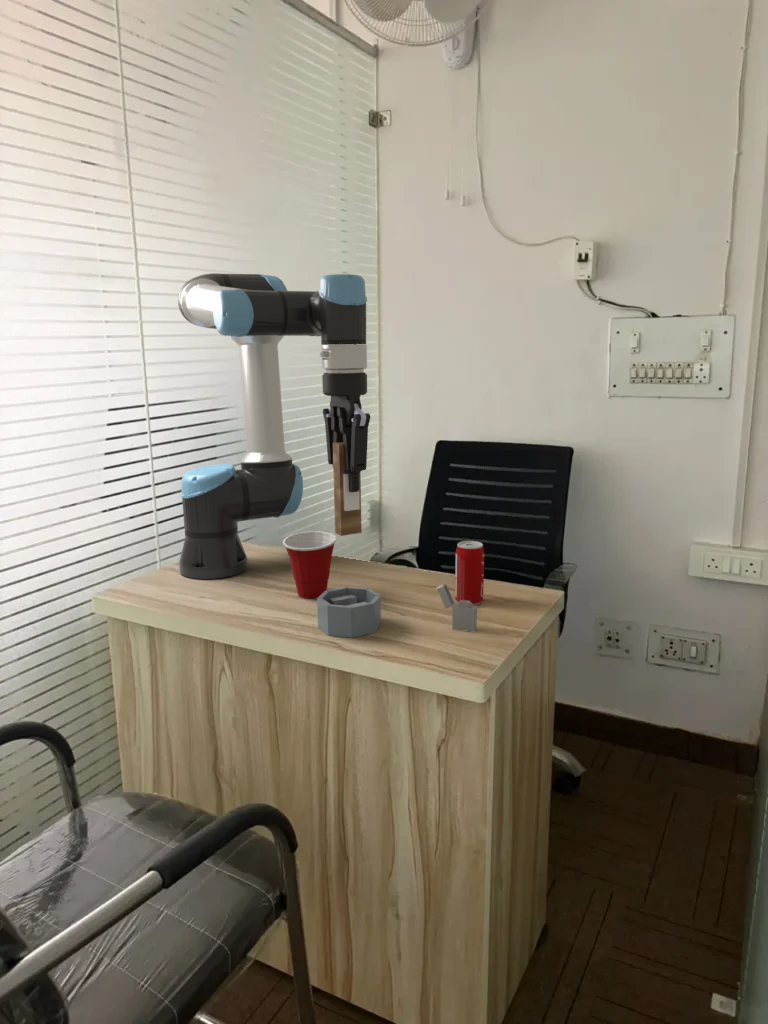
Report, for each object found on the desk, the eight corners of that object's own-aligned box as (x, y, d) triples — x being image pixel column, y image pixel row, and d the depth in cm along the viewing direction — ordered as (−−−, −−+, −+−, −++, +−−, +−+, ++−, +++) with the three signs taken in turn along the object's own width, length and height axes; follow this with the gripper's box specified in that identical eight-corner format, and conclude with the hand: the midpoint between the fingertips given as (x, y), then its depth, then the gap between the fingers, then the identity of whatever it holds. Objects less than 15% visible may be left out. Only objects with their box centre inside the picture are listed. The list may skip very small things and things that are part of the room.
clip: (330, 619, 136) (329, 598, 135) (353, 614, 138) (352, 594, 137) (345, 630, 131) (345, 609, 130) (369, 625, 133) (369, 604, 132)
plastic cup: (274, 598, 149) (271, 540, 146) (304, 582, 158) (302, 528, 156) (319, 607, 144) (317, 547, 141) (347, 590, 153) (346, 534, 151)
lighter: (476, 628, 133) (477, 586, 131) (474, 632, 131) (475, 589, 129) (439, 623, 135) (439, 581, 133) (436, 627, 134) (436, 584, 132)
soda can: (486, 605, 144) (487, 546, 141) (458, 607, 143) (459, 547, 141) (479, 596, 149) (480, 538, 147) (452, 597, 149) (453, 539, 146)
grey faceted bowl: (310, 621, 137) (309, 593, 135) (361, 611, 142) (361, 583, 140) (336, 641, 128) (335, 611, 126) (389, 629, 133) (389, 600, 131)
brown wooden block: (335, 532, 131) (332, 442, 127) (355, 529, 133) (353, 440, 129) (341, 535, 129) (338, 444, 125) (361, 532, 131) (359, 442, 127)
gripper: (305, 370, 129) (309, 502, 134) (345, 373, 116) (348, 519, 121) (343, 369, 133) (346, 497, 138) (387, 372, 119) (388, 514, 125)
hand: (347, 507), depth 130 cm, fingers closed on brown wooden block, 2 cm apart
